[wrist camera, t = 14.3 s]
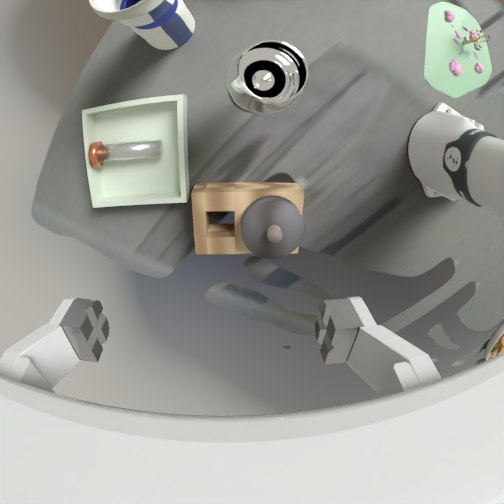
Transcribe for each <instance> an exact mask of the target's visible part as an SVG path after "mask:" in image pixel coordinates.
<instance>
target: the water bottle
mask: <svg viewBox="0 0 504 504" xmlns="http://www.w3.org/2000/svg"><path fill="white" fill-rule="evenodd" d="M89 3H90V5H91V7H92V9H93V10H94V11H95V12H96V13H97V14H98V15H100V16H101V17H103V18H106V19H110V20H119V21H120V22H121V23H122V24H124V25H127V26H130V27H131V28H132V30H133V31H134V32H136V33H137V34H138V35H140V36H141V37H142V38H144V39H145V40H146V41H147V42H148V43H149V44H150V45H151V46H153V47H154V48H157V49H161V50H170V49H174V48H177V47H179V46H181V45H183V44H184V43H185V42H187V41H188V40H189V38H190V37H191V36H192V34H193V32H194V29H195V21H194V18H193V16H192V15H191V13H190V12H189V11H188V9H187V8H186V6H185V4H184V2H183V1H182V0H89Z"/></svg>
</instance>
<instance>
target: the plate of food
mask: <svg viewBox="0 0 504 504" xmlns="http://www.w3.org/2000/svg"><path fill="white" fill-rule="evenodd" d="M503 353H504V321H503V322H502V323H501V325H500V326H499V327H498V329H497V330H496V331H495V332H494V334H493V335H492V337H491V338H490V340H489V342H488V344H487V346H486V348H485V353H484V356H485V360H486V361H487V360H489V359H491V358H494V357H496V356H498V355H500V354H503Z"/></svg>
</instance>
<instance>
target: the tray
mask: <svg viewBox="0 0 504 504" xmlns="http://www.w3.org/2000/svg"><path fill="white" fill-rule="evenodd" d="M82 123H83V137H84V148H85V157H86V166H87V173H88V180H89V187H90V193H91V199H92V204H93V208H98V207H111V206H126V205H143V204H164V203H187V201H188V199H189V197H190V183H189V162H188V129H187V95H171V96H161V97H153V98H145V99H138V100H132V101H125V102H120V103H114V104H109V105H104V106H99V107H95V108H90V109H86V110H82ZM153 139H162V142H163V154H162V157H160V158H144V159H132V160H121V161H111V162H104V163H103V165H102V166H101V167H92V166H91V165H90V163H89V158H88V152H89V147H90V145H91V143H93V142H99V141H101V142H102V143H103V145H104V144H112V143H121V142H130V141H140V140H153Z"/></svg>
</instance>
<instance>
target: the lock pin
mask: <svg viewBox="0 0 504 504" xmlns="http://www.w3.org/2000/svg"><path fill="white" fill-rule="evenodd" d="M162 154H163V142H162V139H153V140H140V141H130V142H121V143H112V144H104V145H103V143H102V142H101V141H99V142H93V143H91V145H90V147H89V152H88V158H89V163H90V165H91V166H92V167H101V166H102V165H103V163H104V162H111V161H121V160H132V159H144V158H160V157H162Z"/></svg>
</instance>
